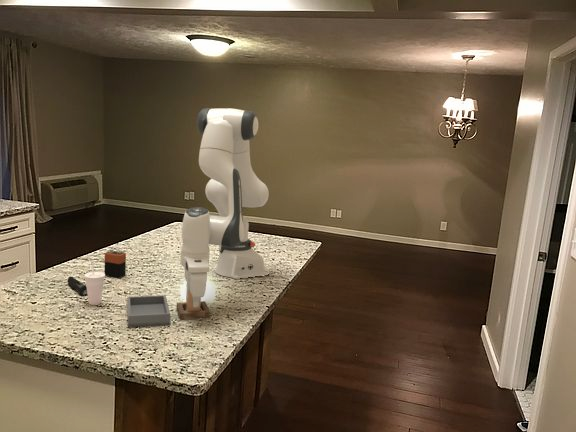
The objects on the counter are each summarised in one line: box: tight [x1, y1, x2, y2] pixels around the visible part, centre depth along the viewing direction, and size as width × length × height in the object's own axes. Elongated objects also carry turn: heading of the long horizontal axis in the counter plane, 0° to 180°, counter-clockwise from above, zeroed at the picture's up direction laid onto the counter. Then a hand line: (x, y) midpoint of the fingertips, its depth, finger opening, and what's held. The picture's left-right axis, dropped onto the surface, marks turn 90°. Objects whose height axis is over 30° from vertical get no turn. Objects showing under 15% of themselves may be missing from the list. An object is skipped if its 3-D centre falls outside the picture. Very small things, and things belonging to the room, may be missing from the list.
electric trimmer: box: [67, 275, 88, 297], centre depth 170 cm, size 4×16×3 cm, turn 43°
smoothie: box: [83, 261, 106, 306], centre depth 157 cm, size 6×6×14 cm
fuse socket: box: [176, 300, 211, 321], centre depth 156 cm, size 9×9×2 cm
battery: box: [104, 249, 127, 279], centre depth 186 cm, size 4×7×10 cm, turn 76°
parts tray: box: [126, 294, 171, 328], centre depth 152 cm, size 12×16×4 cm
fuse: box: [185, 281, 202, 312], centre depth 156 cm, size 4×4×10 cm
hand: (193, 300), depth 156 cm, fingers open, 8 cm apart
